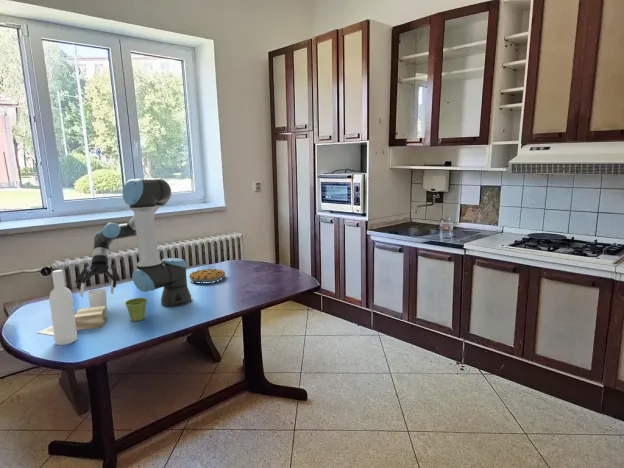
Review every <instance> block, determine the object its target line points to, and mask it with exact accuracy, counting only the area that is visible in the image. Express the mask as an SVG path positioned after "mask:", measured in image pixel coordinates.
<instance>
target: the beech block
mask: <svg viewBox="0 0 624 468" xmlns="http://www.w3.org/2000/svg"><path fill="white" fill-rule="evenodd" d="M107 312H108V311H107V310H106V306H99V307H91V306H90V307H83V308H82V307H79V309H78V310H77V311H76V312H75V313H74V315H75V323H76V331H79V330H86V329H87V330H89V329H90V330H91V329H97V328H103V327H104V325H105V322H106V321H107V318H108V313H107Z"/></svg>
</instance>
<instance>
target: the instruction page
mask: <svg viewBox="0 0 624 468" xmlns="http://www.w3.org/2000/svg"><path fill="white" fill-rule="evenodd" d="M36 334H39V335H40V334H41V335H45V336H51V335H52V336H51V337H53V336H54V330H53V325H50V326H49V327H46V328H44V329H41V330H39V331H36Z"/></svg>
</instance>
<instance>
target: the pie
mask: <svg viewBox="0 0 624 468" xmlns="http://www.w3.org/2000/svg"><path fill="white" fill-rule="evenodd" d="M225 275H226V272H225V271H224V270H223V269H217V268H214V269H212V268H209V269H206V268H205V269H198V270H196V271H192V272H191V273H189V276H188V278H189V279H190V280H191V282H192V281H193V282H200V283H201V282H202V283H203V282H213V281H217V280H220V279H221V278H224V276H225ZM193 282H192V283H193Z"/></svg>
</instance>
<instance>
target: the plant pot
mask: <svg viewBox="0 0 624 468" xmlns="http://www.w3.org/2000/svg"><path fill="white" fill-rule="evenodd" d="M147 301H148V299H147V298H146V297H145V298H143V297H136V298H131V299H128V300H126V301H125V303H124V305H125V306H126V308H127V311H128V314H129V318H130V321H132V322H137V321H144V319H145V317H146V305H147Z"/></svg>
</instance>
